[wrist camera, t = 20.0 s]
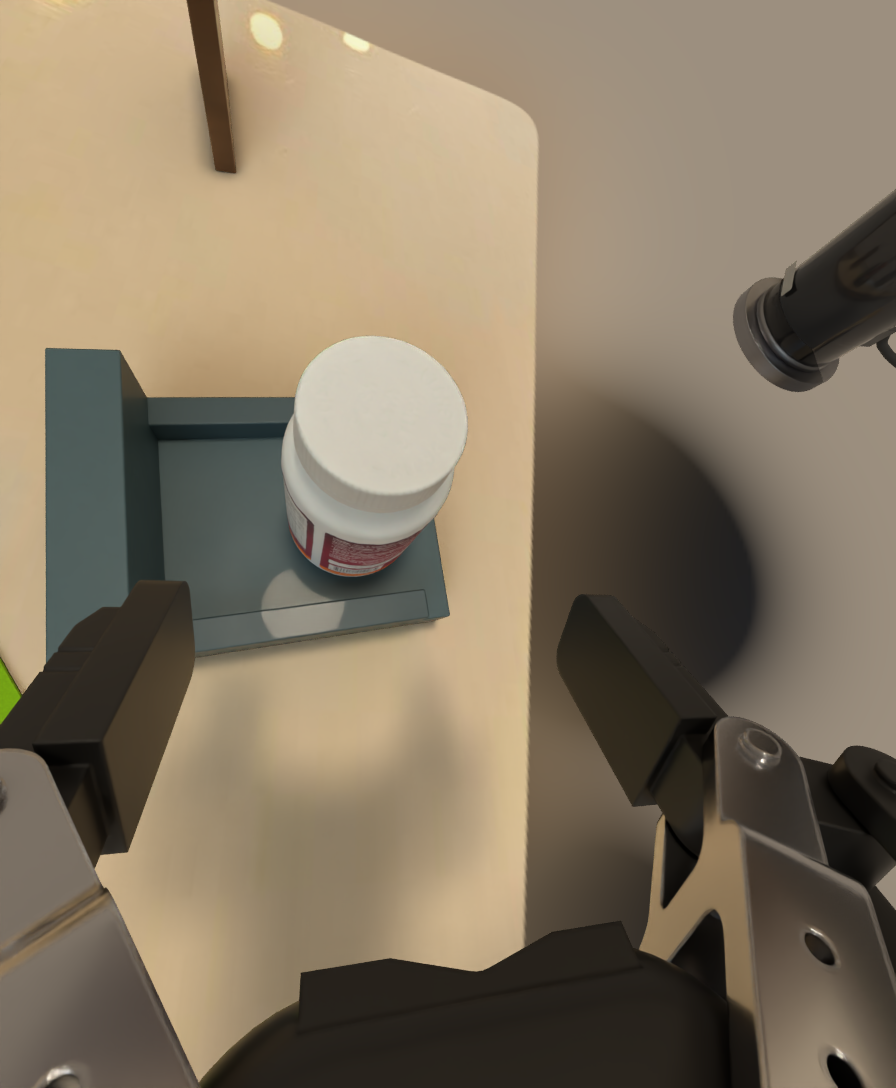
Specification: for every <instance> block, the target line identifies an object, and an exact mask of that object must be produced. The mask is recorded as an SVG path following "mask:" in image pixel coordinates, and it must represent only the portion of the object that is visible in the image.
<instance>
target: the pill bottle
mask: <svg viewBox="0 0 896 1088" xmlns="http://www.w3.org/2000/svg"><path fill="white" fill-rule="evenodd" d="M467 432H468V417H467V411H466V406H465V403H464V399H463V397H462V394H461V392H460V390H459V388H458V386H457V385H456V383H455V381H454V380H453V378H452V377H451V376H450V374H449V373H448V372H447V370H446V369H445V368H444V367H443V366H442V365H441V364H440V363H439V362H438V361H436V360H435V359H434V358H433V357H432V356H430V355H429V354H427V353H426V352H425V351H423V350H421V349H420V348H418V347H415V346H413V345H411V344H409V343H407V342H404V341H401V340H398V339H393V338H389V337H382V336H360V337H353V338H349V339H345V340H342V341H340V342H338V343H335V344H333V345H331V346H330V347H328V348H326V349H325V350H323V351H322V352H321V353H319V354H318V355H317V356H316V357H315V358H314V359H313V360H312V361H311V362H310V363H309V365H308V366H307V367H306V369H305V370H304V372H303V374H302V376H301V378H300V381H299V383H298V386H297V390H296V394H295V403H294V414H293V416H292V417H291V419H290V421H289V423H288V425H287V428H286V431H285V434H284V438H283V444H282V456H281V469H282V473H283V481H284V490H285V500H286V509H287V518H288V523H289V528H290V532H291V535H292V538H293V540H294V542H295V544H296V545H297V547H298V549H299V550H300V551H301V553H302V554H303V555H304V556H305V557H306V558H307V559H308V560H309V561H310V562H311V563H313V564H314V565H316V566H317V567H319V568H320V569H322V570H324V571H326V572H329V573H332V574H334V575H339V576H346V577H358V576H365V575H369V574H372V573H375V572H378V571H380V570H382V569H383V568H385V567H387V566H388V565H390V564H391V563H392V562H394V561H395V560H396V559H397V558H398V557H399V556H400V555H401V554H402V553H403V551H404V550H405V549H406V548H407V547H408V546H409V545H410V544H411V542H412V541H413V540H414V539H415V538H416V537H417V535H418V534H419V533H420V532H421V531H422V530H423V529H424V528H425V527H426V526H427V525H428V523H429V522H430V521H431V520H432V519H433V518H434V517H435V516H436V515H437V513H438V511H439V510H440V509H441V507H442V506H443V504H444V502H445V501H446V499H447V496H448V494H449V491H450V489H451V485H452V481H453V476H454V467H455V466H456V464H457V463H458V461H459V459H460V457H461V455H462V453H463V450H464V447H465V444H466V439H467Z"/></svg>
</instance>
